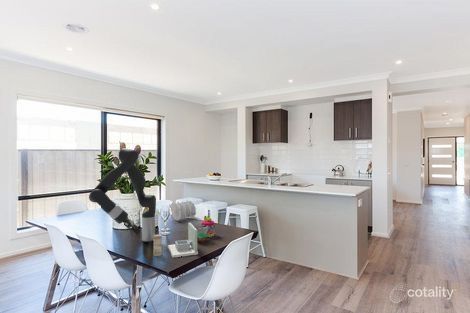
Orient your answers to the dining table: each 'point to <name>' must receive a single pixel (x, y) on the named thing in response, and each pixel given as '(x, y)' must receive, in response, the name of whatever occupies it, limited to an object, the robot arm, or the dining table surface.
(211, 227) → the cake
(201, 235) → the food container
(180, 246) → the cup bracket
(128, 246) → the dining table surface
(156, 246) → the rail post
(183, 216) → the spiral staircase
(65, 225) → the dining table surface
